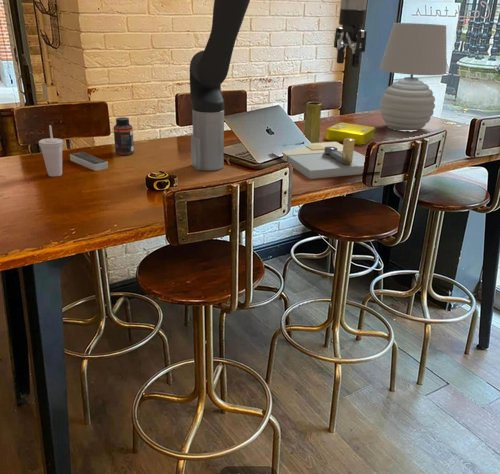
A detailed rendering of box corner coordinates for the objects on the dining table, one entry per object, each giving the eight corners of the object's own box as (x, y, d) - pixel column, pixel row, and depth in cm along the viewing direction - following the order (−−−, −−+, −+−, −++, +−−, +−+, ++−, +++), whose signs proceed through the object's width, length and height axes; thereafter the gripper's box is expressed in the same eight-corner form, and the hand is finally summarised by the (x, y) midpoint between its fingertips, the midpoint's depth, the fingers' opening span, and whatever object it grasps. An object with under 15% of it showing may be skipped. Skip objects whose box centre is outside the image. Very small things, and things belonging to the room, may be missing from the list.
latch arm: (321, 152, 165) (323, 130, 162) (333, 151, 166) (335, 129, 163) (343, 164, 154) (346, 141, 151) (355, 163, 155) (358, 140, 152)
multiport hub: (95, 172, 152) (94, 164, 151) (70, 161, 161) (69, 154, 160) (108, 169, 155) (108, 161, 154) (82, 158, 164) (82, 151, 163)
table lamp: (386, 119, 230) (400, 22, 213) (443, 129, 217) (463, 25, 200) (361, 129, 211) (374, 23, 194) (423, 140, 198) (442, 27, 181)
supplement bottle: (138, 153, 169) (135, 118, 165) (122, 156, 165) (119, 121, 161) (127, 149, 173) (124, 115, 168) (111, 153, 169) (108, 118, 164)
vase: (318, 145, 185) (322, 105, 179) (301, 144, 186) (304, 104, 180) (320, 141, 191) (323, 102, 185) (303, 140, 192) (306, 101, 186)
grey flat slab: (310, 179, 151) (311, 169, 149) (272, 153, 175) (272, 144, 173) (381, 172, 159) (382, 163, 157) (335, 148, 183) (336, 140, 181)
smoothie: (53, 179, 143) (46, 129, 138) (38, 175, 146) (31, 125, 141) (71, 173, 148) (66, 124, 143) (56, 169, 151) (50, 121, 146)
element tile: (362, 146, 188) (363, 133, 186) (323, 140, 195) (324, 127, 193) (375, 138, 200) (376, 126, 198) (338, 132, 207) (339, 120, 205)
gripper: (330, 7, 159) (325, 62, 166) (355, 8, 147) (348, 68, 154) (351, 7, 162) (345, 62, 169) (377, 9, 150) (370, 67, 157)
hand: (347, 65), depth 161 cm, fingers open, 8 cm apart
